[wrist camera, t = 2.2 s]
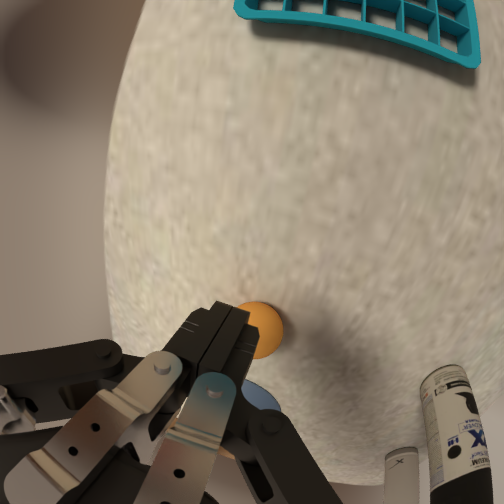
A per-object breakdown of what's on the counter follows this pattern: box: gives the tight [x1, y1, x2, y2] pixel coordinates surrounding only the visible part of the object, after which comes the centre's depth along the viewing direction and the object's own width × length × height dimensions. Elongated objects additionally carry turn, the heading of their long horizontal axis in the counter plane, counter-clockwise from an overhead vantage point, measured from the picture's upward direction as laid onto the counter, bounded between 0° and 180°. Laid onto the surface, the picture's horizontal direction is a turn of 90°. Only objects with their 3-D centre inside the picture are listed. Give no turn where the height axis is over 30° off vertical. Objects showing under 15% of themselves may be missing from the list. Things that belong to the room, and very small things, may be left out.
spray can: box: [420, 365, 493, 504], centre depth 16 cm, size 7×7×20 cm
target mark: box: [241, 379, 281, 412], centre depth 35 cm, size 14×14×1 cm
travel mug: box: [383, 447, 419, 504], centre depth 23 cm, size 6×7×20 cm
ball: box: [237, 302, 283, 359], centre depth 25 cm, size 6×6×6 cm
